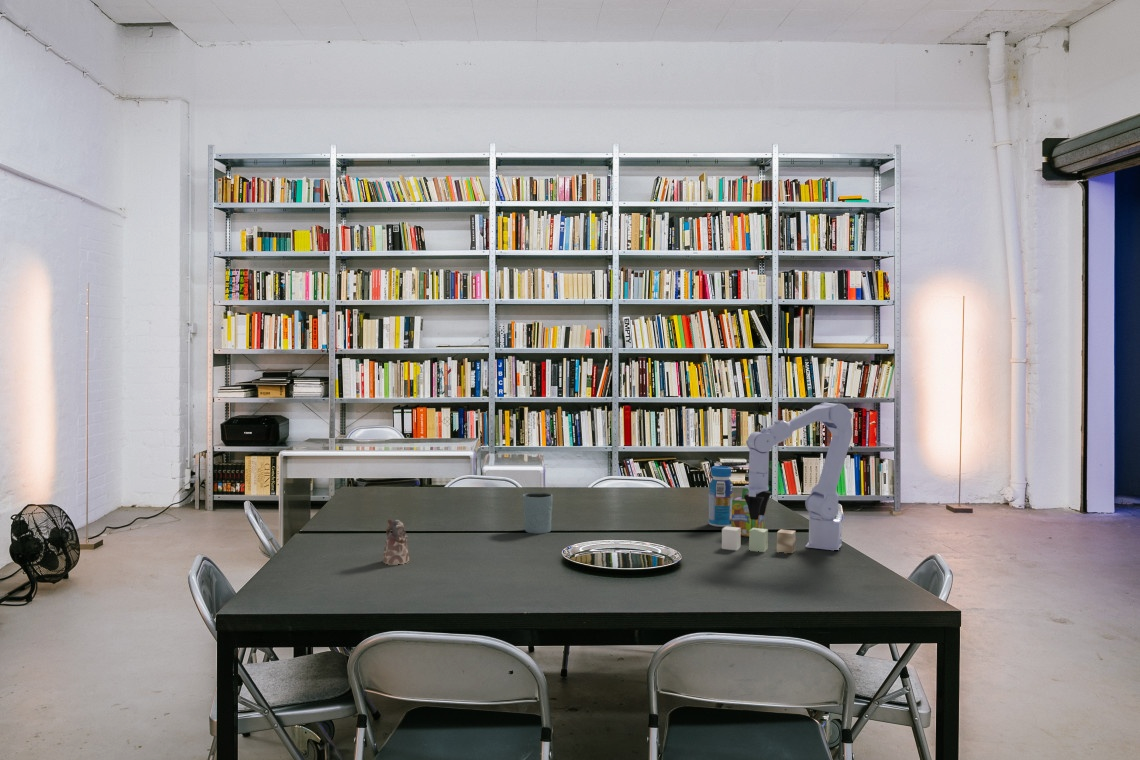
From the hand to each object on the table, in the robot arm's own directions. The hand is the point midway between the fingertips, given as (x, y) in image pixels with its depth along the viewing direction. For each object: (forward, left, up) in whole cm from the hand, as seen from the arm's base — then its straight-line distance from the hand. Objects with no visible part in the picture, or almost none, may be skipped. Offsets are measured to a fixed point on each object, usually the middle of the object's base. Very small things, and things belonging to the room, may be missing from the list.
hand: (757, 517), depth 230 cm
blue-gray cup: (+71, +10, -10) cm, 72 cm away
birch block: (-8, -2, -10) cm, 13 cm away
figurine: (+86, +63, -10) cm, 107 cm away
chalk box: (+8, -19, -10) cm, 23 cm away
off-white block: (+7, +2, -10) cm, 12 cm away
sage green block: (0, 0, -10) cm, 10 cm away
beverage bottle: (+20, -28, -10) cm, 36 cm away
